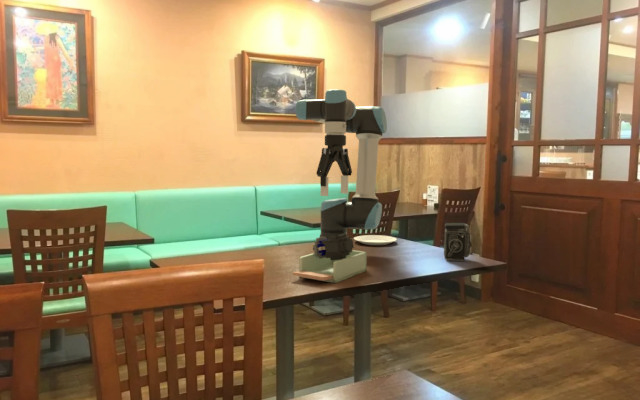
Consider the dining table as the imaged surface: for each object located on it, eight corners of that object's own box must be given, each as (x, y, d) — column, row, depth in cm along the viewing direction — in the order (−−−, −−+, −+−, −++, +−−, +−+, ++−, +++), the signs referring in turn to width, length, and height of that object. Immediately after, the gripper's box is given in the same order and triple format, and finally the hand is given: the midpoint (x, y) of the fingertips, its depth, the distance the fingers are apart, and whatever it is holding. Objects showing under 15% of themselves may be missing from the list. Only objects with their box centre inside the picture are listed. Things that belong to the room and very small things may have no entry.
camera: (471, 263, 203) (473, 226, 202) (444, 261, 205) (445, 225, 204) (469, 257, 213) (470, 222, 212) (443, 256, 215) (444, 221, 214)
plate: (387, 248, 233) (387, 243, 233) (346, 244, 243) (346, 239, 243) (402, 241, 252) (402, 237, 251) (364, 238, 262) (364, 233, 261)
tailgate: (303, 273, 178) (292, 275, 172) (303, 270, 178) (292, 272, 172) (333, 278, 171) (323, 280, 166) (334, 275, 171) (323, 277, 166)
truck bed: (299, 276, 178) (299, 257, 178) (332, 265, 196) (332, 247, 196) (335, 283, 170) (335, 262, 169) (366, 270, 188) (366, 252, 188)
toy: (322, 236, 190) (354, 232, 181) (325, 258, 190) (358, 256, 181) (307, 239, 184) (340, 235, 174) (311, 263, 183) (344, 260, 174)
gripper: (325, 133, 166) (324, 197, 168) (361, 135, 187) (360, 192, 189) (306, 133, 170) (306, 196, 172) (344, 135, 191) (343, 191, 193)
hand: (334, 194), depth 181 cm, fingers open, 13 cm apart
